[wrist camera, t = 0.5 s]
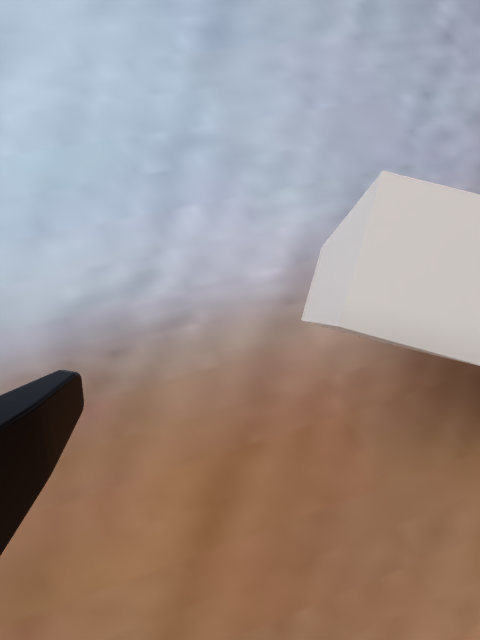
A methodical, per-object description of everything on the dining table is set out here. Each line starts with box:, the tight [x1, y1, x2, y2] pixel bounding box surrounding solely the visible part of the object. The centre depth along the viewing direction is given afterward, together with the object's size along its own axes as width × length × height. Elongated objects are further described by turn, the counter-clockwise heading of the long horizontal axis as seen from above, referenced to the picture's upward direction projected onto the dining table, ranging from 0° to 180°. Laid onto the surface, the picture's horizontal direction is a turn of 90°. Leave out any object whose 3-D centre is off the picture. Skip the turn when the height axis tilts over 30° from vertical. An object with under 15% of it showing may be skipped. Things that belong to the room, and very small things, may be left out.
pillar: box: [301, 171, 480, 366], centre depth 17 cm, size 5×5×12 cm
